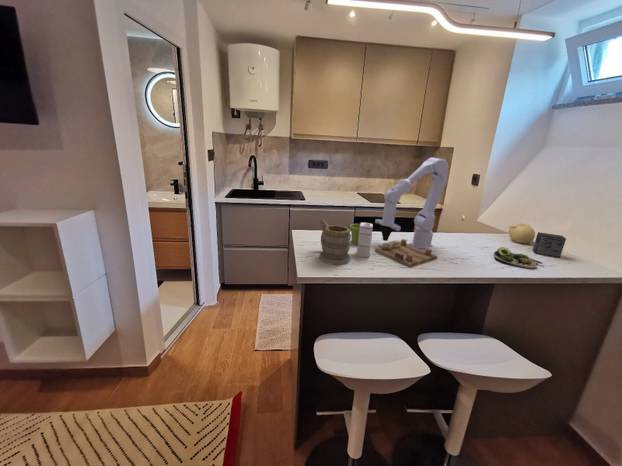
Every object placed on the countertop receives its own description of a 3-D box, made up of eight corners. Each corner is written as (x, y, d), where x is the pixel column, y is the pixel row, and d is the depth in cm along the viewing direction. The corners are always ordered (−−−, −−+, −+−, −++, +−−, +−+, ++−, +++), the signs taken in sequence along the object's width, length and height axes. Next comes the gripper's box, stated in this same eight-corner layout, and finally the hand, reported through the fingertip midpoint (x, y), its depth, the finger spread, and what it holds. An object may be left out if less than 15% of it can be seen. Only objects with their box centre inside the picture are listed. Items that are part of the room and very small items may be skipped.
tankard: (354, 262, 124) (358, 229, 119) (329, 266, 118) (332, 232, 114) (331, 246, 141) (333, 216, 136) (308, 249, 135) (309, 218, 130)
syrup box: (369, 257, 130) (373, 226, 126) (356, 255, 131) (359, 225, 127) (369, 252, 136) (373, 223, 131) (356, 251, 137) (360, 221, 132)
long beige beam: (384, 250, 135) (385, 245, 134) (380, 248, 137) (380, 243, 136) (401, 246, 142) (401, 241, 141) (396, 244, 144) (397, 239, 143)
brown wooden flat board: (401, 244, 149) (403, 237, 148) (436, 258, 134) (438, 250, 133) (374, 251, 138) (376, 243, 137) (409, 267, 123) (411, 258, 121)
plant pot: (353, 238, 155) (355, 222, 152) (369, 242, 150) (371, 226, 147) (345, 242, 147) (346, 226, 145) (361, 247, 142) (363, 230, 140)
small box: (556, 254, 150) (562, 235, 147) (560, 258, 144) (567, 238, 141) (531, 250, 154) (537, 231, 151) (534, 254, 148) (541, 234, 145)
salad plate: (538, 260, 140) (541, 252, 139) (545, 274, 125) (548, 264, 124) (492, 251, 149) (495, 243, 148) (494, 262, 134) (496, 253, 133)
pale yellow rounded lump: (519, 238, 173) (524, 221, 170) (537, 245, 162) (543, 227, 158) (502, 238, 171) (507, 220, 168) (519, 245, 160) (524, 227, 157)
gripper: (372, 211, 145) (369, 237, 150) (395, 219, 134) (391, 246, 138) (382, 210, 149) (378, 235, 153) (405, 217, 138) (400, 243, 142)
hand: (385, 240), depth 146 cm, fingers closed
